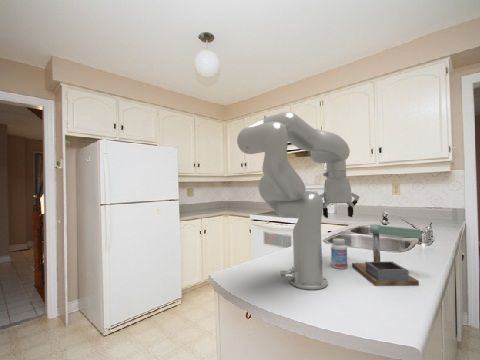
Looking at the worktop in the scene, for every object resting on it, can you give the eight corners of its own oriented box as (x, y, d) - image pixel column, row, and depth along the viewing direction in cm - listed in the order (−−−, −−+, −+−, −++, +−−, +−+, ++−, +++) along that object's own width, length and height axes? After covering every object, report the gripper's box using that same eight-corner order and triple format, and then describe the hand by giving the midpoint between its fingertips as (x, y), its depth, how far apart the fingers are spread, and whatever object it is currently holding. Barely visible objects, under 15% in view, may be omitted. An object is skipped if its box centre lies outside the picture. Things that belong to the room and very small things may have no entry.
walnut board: (374, 285, 86) (374, 281, 86) (352, 266, 106) (352, 263, 106) (418, 285, 85) (418, 280, 85) (387, 266, 105) (387, 262, 105)
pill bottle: (336, 270, 102) (335, 241, 103) (329, 265, 108) (328, 238, 109) (350, 268, 103) (349, 240, 104) (342, 264, 109) (341, 237, 110)
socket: (378, 281, 86) (377, 270, 86) (365, 271, 95) (365, 261, 95) (408, 280, 85) (407, 270, 85) (392, 271, 95) (392, 261, 95)
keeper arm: (368, 232, 104) (368, 225, 104) (373, 231, 106) (372, 224, 106) (417, 238, 90) (417, 230, 91) (421, 237, 93) (421, 228, 93)
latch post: (375, 265, 102) (374, 234, 102) (372, 263, 104) (371, 233, 105) (381, 265, 102) (380, 234, 102) (378, 263, 104) (377, 232, 105)
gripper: (317, 176, 104) (319, 219, 103) (361, 174, 103) (363, 217, 102) (313, 176, 111) (314, 216, 111) (354, 174, 110) (356, 215, 110)
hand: (338, 217), depth 107 cm, fingers open, 9 cm apart
